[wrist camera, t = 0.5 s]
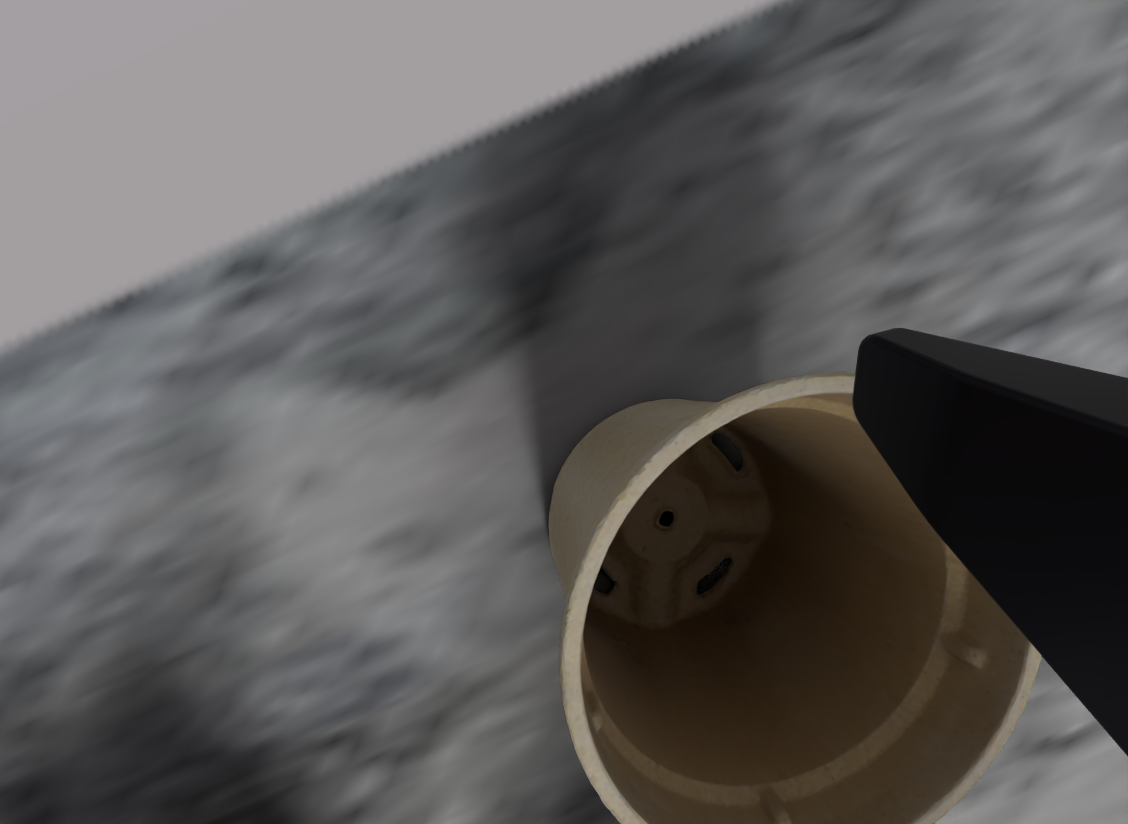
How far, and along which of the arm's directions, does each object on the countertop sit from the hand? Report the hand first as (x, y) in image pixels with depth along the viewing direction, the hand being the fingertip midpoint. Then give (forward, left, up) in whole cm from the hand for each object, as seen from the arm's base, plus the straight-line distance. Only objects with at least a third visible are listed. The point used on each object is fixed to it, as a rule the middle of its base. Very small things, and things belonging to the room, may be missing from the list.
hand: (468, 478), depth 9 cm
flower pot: (-7, -3, -14) cm, 16 cm away
